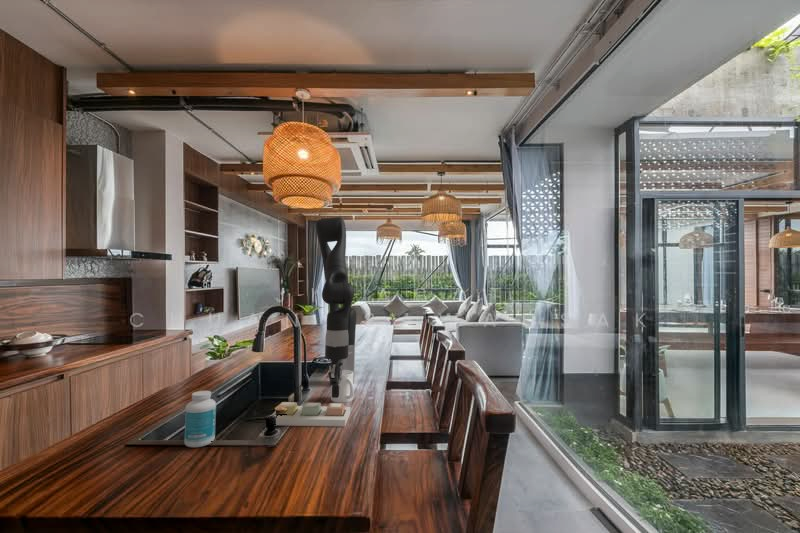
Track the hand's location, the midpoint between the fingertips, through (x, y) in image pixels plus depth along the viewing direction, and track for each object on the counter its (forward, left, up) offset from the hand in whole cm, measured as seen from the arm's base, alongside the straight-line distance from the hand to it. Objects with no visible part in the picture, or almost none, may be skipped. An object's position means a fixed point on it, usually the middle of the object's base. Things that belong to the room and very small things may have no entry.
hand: (335, 396), depth 120 cm
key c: (0, -16, -5) cm, 17 cm away
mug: (-18, 0, -7) cm, 20 cm away
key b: (0, -8, -5) cm, 9 cm away
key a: (0, 0, -5) cm, 5 cm away
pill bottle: (+19, -34, -7) cm, 39 cm away
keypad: (0, -8, -7) cm, 11 cm away
